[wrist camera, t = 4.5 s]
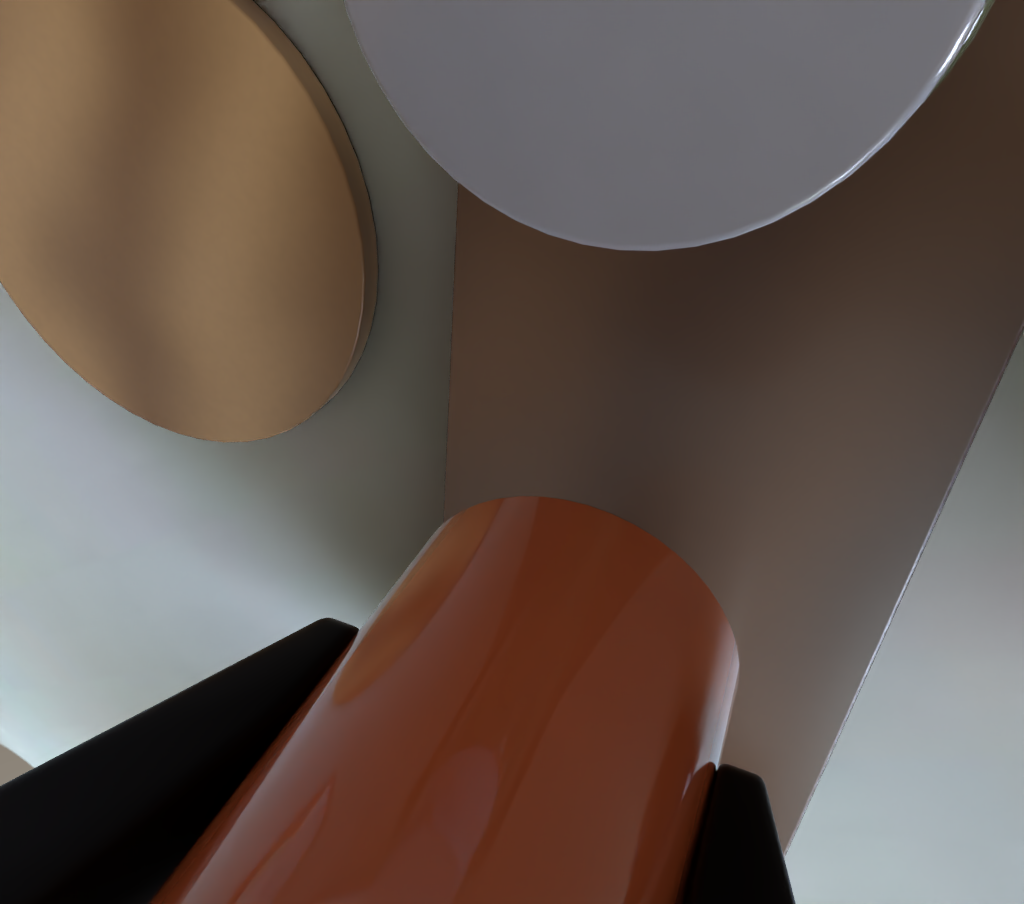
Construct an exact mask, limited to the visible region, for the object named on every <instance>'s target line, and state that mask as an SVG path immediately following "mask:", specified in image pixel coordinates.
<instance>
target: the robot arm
mask: <svg viewBox="0 0 1024 904" xmlns="http://www.w3.org/2000/svg"><path fill="white" fill-rule="evenodd" d="M358 631H359V629H358V628H356V627H355V626H352V625H349V624H347V623H344V622H341V621H338V620H336V619H333V618H323V619H320V620H318V621H316V622H314V623H312V624H310V625H308V626H306V627H304V628H302V629H300V630H298V631H296V632H294V633H293V634H291V635H289V636H287V637H285V638H283V639H281V640H279V641H277V642H275V643H273V644H271V645H270V646H268V647H266V648H264V649H262V650H260V651H258V652H256V653H254V654H252V655H250V656H248V657H247V658H245V659H243V660H241V661H239V662H237V663H235V664H233V665H231V666H229V667H227V668H225V669H224V670H222V671H220V672H218V673H216V674H214V675H212V676H210V677H208V678H206V679H204V680H203V681H201V682H199V683H197V684H195V685H193V686H191V687H189V688H187V689H185V690H183V691H181V692H180V693H178V694H176V695H174V696H172V697H170V698H168V699H166V700H164V701H162V702H160V703H158V704H157V705H155V706H153V707H151V708H149V709H147V710H145V711H143V712H141V713H139V714H137V715H135V716H134V717H132V718H130V719H128V720H126V721H124V722H122V723H120V724H118V725H116V726H114V727H113V728H111V729H109V730H107V731H105V732H103V733H101V734H99V735H97V736H95V737H93V738H91V739H90V740H88V741H86V742H84V743H82V744H80V745H78V746H76V747H74V748H72V749H70V750H68V751H67V752H65V753H63V754H61V755H59V756H57V757H55V758H53V759H51V760H49V761H47V762H45V763H44V764H42V765H40V766H38V767H36V768H34V769H32V770H30V771H28V772H26V773H25V774H23V775H21V776H19V777H17V778H15V779H13V780H11V781H9V782H7V783H5V784H3V785H2V786H0V904H148V903H149V902H150V901H151V899H152V898H153V897H154V895H155V894H156V893H157V891H158V890H159V889H160V888H161V886H162V885H163V884H164V882H165V881H166V880H167V879H168V877H169V876H170V875H171V873H172V872H173V871H174V869H175V868H176V867H177V866H178V864H179V863H180V862H181V860H182V859H183V858H184V856H185V855H186V854H187V853H188V851H189V850H190V849H191V847H192V846H193V845H194V843H195V842H196V841H197V840H198V838H199V837H200V836H201V834H202V833H203V832H204V831H205V829H206V828H207V827H208V825H209V824H210V823H211V821H212V820H213V819H214V818H215V816H216V815H217V814H218V812H219V811H220V810H221V808H222V807H223V806H224V805H225V803H226V802H227V801H228V799H229V798H230V797H231V796H232V794H233V793H234V792H235V790H236V789H237V788H238V786H239V785H240V784H241V783H242V781H243V780H244V779H245V777H246V776H247V775H248V773H249V772H250V771H251V770H252V768H253V767H254V766H255V764H256V763H257V762H258V760H259V759H260V758H261V757H262V755H263V754H264V753H265V751H266V750H267V749H268V748H269V746H270V745H271V744H272V742H273V741H274V740H275V738H276V737H277V736H278V735H279V733H280V732H281V731H282V729H283V728H284V727H285V725H286V724H287V723H288V722H289V720H290V719H291V718H292V716H293V715H294V714H295V713H296V711H297V710H298V709H299V707H300V706H301V705H302V703H303V702H304V701H305V700H306V698H307V697H308V696H309V694H310V693H311V692H312V690H313V689H314V688H315V687H316V685H317V684H318V683H319V681H320V680H321V679H322V677H323V676H324V675H325V674H326V672H327V671H328V670H329V668H330V667H331V666H332V665H333V663H334V662H335V661H336V659H337V658H338V657H339V655H340V654H341V653H342V652H343V650H344V649H345V648H346V646H347V645H348V644H349V642H350V641H351V640H352V639H353V637H354V636H355V635H356V633H357V632H358ZM685 904H795V900H794V896H793V892H792V888H791V884H790V880H789V876H788V872H787V868H786V864H785V860H784V856H783V852H782V848H781V844H780V840H779V836H778V832H777V828H776V824H775V820H774V816H773V812H772V808H771V804H770V800H769V796H768V792H767V788H766V785H765V783H764V781H763V779H762V778H761V777H760V776H759V775H757V774H754V773H752V772H749V771H746V770H743V769H741V768H738V767H735V766H733V765H730V764H721V765H720V766H719V767H718V769H717V771H716V775H715V779H714V783H713V788H712V792H711V796H710V800H709V804H708V809H707V813H706V817H705V821H704V825H703V830H702V834H701V838H700V842H699V846H698V851H697V855H696V859H695V863H694V867H693V872H692V876H691V880H690V884H689V888H688V893H687V898H686V903H685Z"/></svg>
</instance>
